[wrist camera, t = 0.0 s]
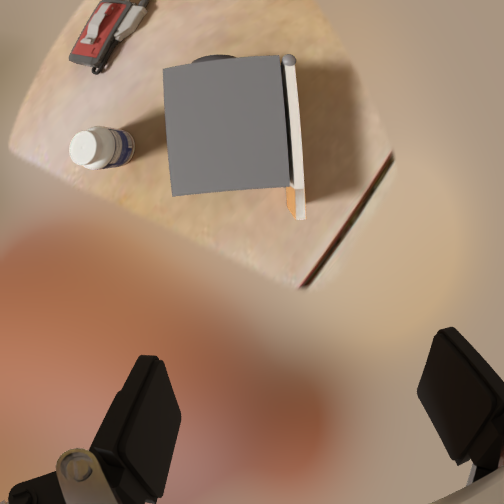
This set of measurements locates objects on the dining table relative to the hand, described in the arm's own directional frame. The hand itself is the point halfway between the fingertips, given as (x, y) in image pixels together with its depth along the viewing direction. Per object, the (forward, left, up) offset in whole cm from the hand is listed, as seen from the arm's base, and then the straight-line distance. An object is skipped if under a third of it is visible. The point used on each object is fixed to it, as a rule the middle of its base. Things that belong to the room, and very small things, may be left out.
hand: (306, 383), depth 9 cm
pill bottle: (-11, -20, -31) cm, 39 cm away
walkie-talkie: (-33, -20, -32) cm, 50 cm away
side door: (-9, +3, -31) cm, 33 cm away
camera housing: (-11, -4, -31) cm, 33 cm away
